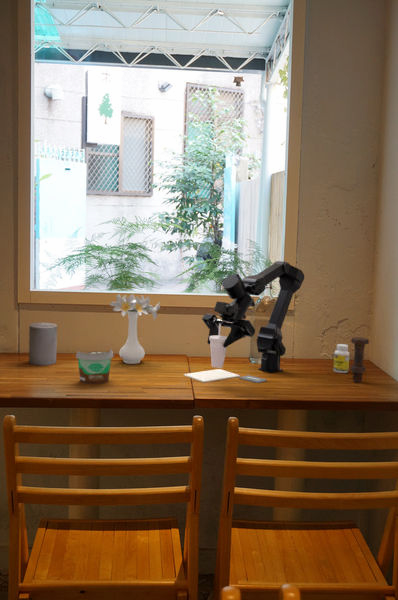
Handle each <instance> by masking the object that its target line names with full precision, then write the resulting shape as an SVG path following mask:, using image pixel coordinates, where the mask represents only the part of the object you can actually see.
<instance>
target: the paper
mask: <svg viewBox="0 0 398 600" xmlns="http://www.w3.org/2000/svg"><path fill="white" fill-rule="evenodd" d="M183 376H185V377H187V378H189V379H193V380H196V381H199V382H201V383H209V382H214V381H221V380H226V379H232V378H239V377H241V375H239V374H238V373H233V372H230V371H228V370H224V369H221V368H216V369H209V370H203V371H197V372H196V371H195V372H189V373H184V374H183Z"/></svg>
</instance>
